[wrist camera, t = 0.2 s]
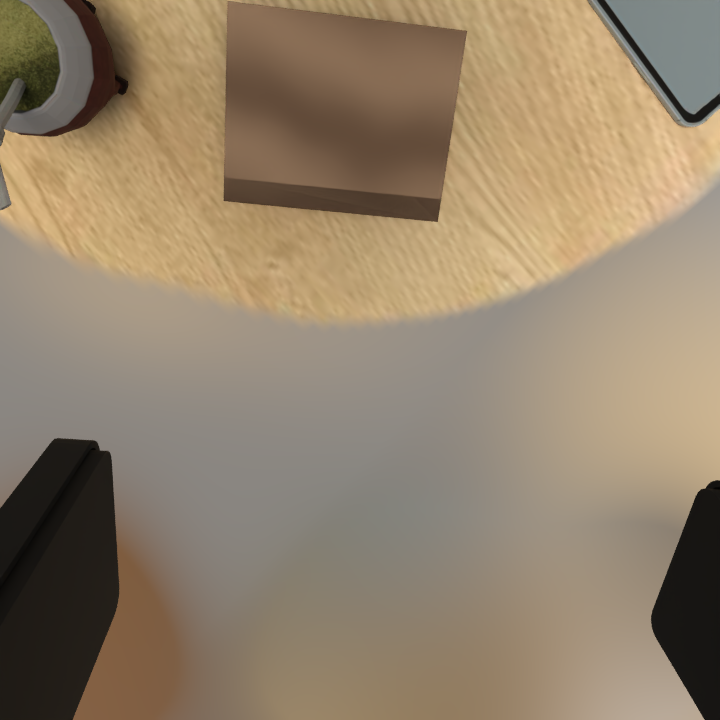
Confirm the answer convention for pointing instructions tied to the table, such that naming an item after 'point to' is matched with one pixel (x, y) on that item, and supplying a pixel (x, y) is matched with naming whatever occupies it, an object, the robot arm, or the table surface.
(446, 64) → the shelf
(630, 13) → the smartphone
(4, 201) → the mate gourd
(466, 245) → the table surface
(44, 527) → the robot arm
